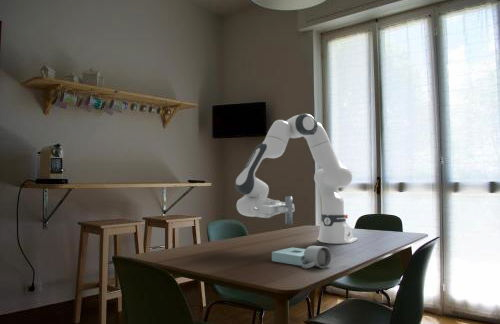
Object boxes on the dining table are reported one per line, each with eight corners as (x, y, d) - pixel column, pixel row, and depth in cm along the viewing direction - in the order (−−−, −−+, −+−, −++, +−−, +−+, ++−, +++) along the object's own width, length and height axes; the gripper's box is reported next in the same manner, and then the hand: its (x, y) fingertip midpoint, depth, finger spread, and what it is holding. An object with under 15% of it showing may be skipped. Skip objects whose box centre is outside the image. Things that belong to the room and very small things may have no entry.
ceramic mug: (316, 262, 150) (316, 242, 150) (332, 266, 143) (331, 245, 143) (295, 266, 144) (295, 246, 144) (310, 271, 137) (310, 249, 137)
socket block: (292, 255, 164) (292, 247, 164) (320, 259, 155) (320, 251, 155) (271, 260, 154) (271, 252, 154) (301, 265, 144) (301, 256, 145)
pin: (288, 223, 169) (288, 196, 169) (293, 224, 167) (293, 196, 167) (284, 224, 167) (283, 196, 167) (289, 225, 165) (289, 196, 165)
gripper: (250, 202, 168) (275, 203, 159) (279, 200, 183) (303, 201, 174) (250, 216, 168) (275, 218, 159) (279, 213, 183) (303, 215, 174)
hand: (290, 209), depth 166 cm, fingers closed on pin, 3 cm apart
